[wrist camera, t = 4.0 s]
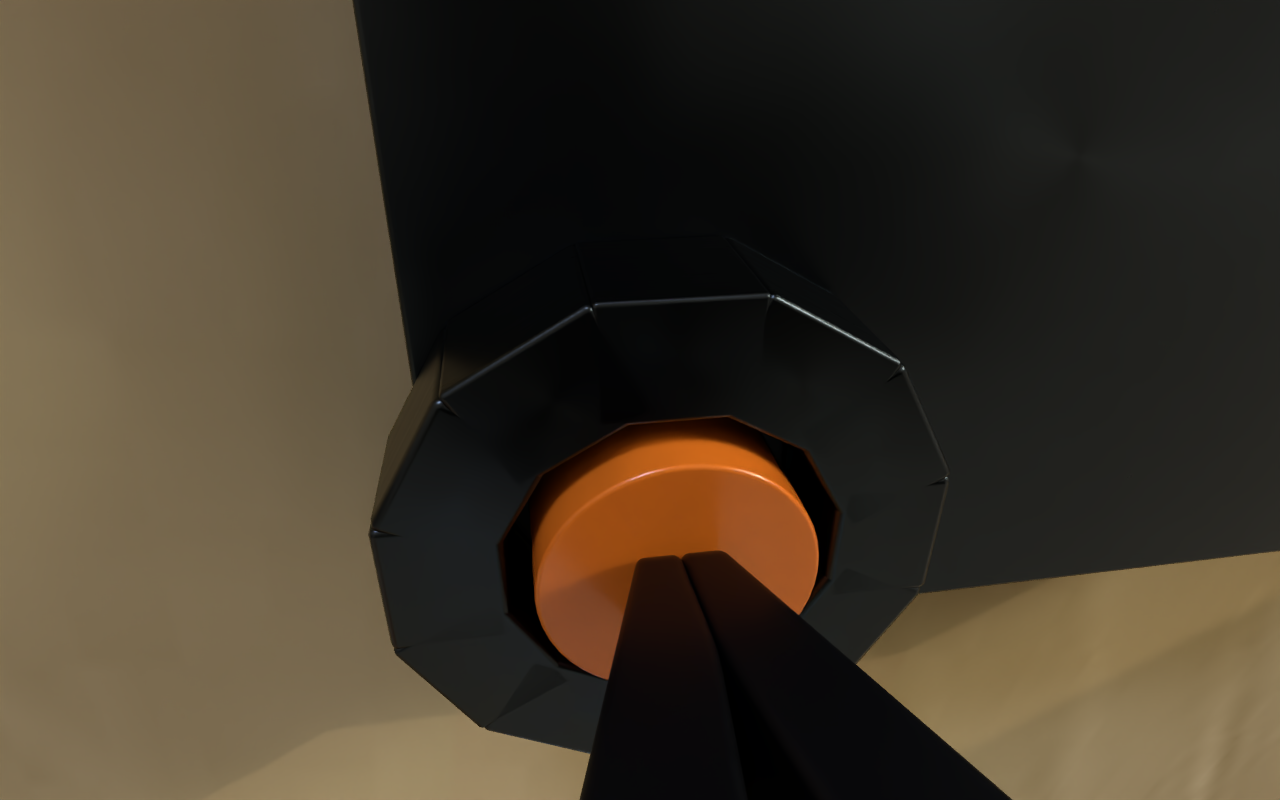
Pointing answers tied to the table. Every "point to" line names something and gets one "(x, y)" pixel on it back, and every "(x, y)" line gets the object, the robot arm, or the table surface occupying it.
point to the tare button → (660, 524)
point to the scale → (824, 292)
